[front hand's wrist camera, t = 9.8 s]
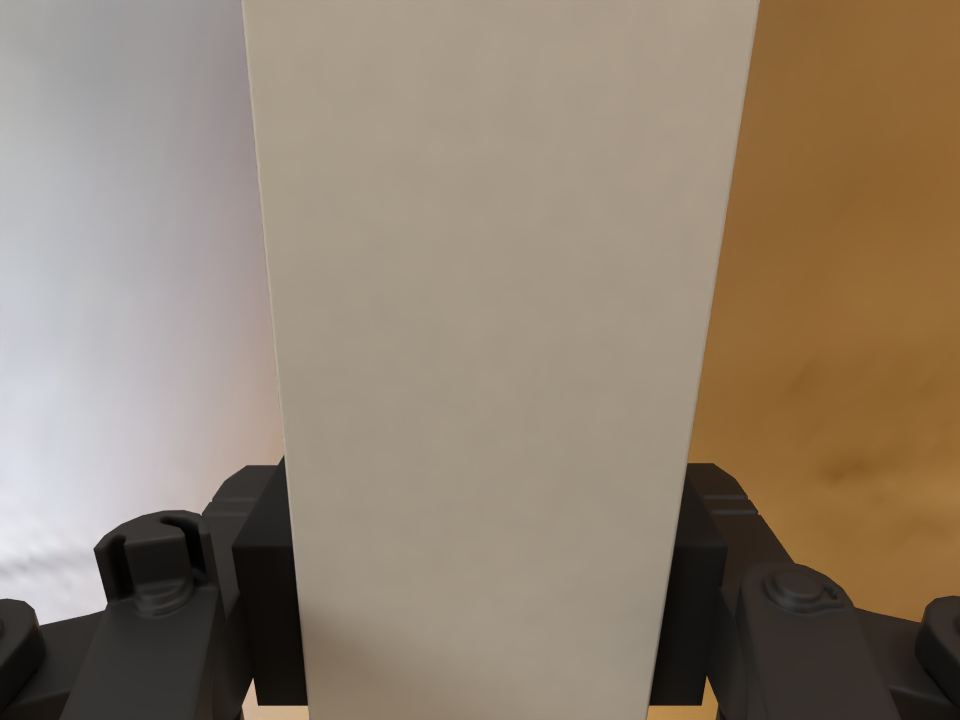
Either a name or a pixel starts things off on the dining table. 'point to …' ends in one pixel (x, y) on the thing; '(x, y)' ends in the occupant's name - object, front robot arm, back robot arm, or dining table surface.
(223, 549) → the front robot arm
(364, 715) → the bar
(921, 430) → the dining table surface
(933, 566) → the dining table surface
